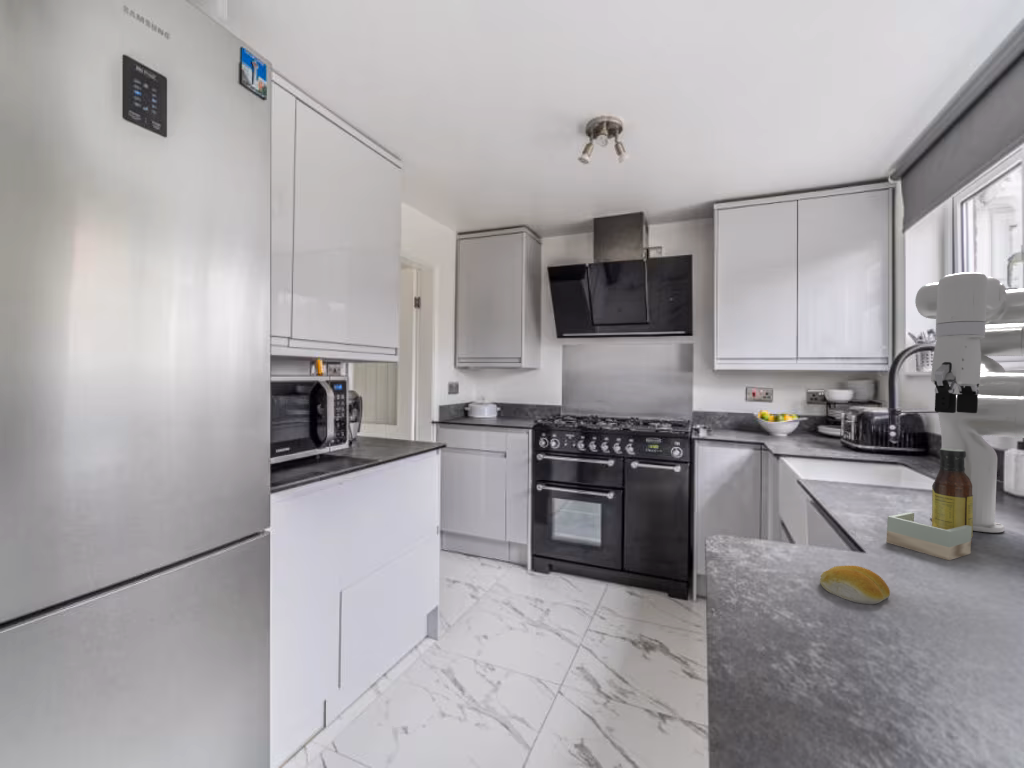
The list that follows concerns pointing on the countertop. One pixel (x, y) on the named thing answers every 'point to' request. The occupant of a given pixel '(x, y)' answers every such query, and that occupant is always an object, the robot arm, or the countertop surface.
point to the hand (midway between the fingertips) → (956, 412)
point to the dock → (928, 537)
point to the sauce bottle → (952, 492)
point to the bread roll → (855, 584)
